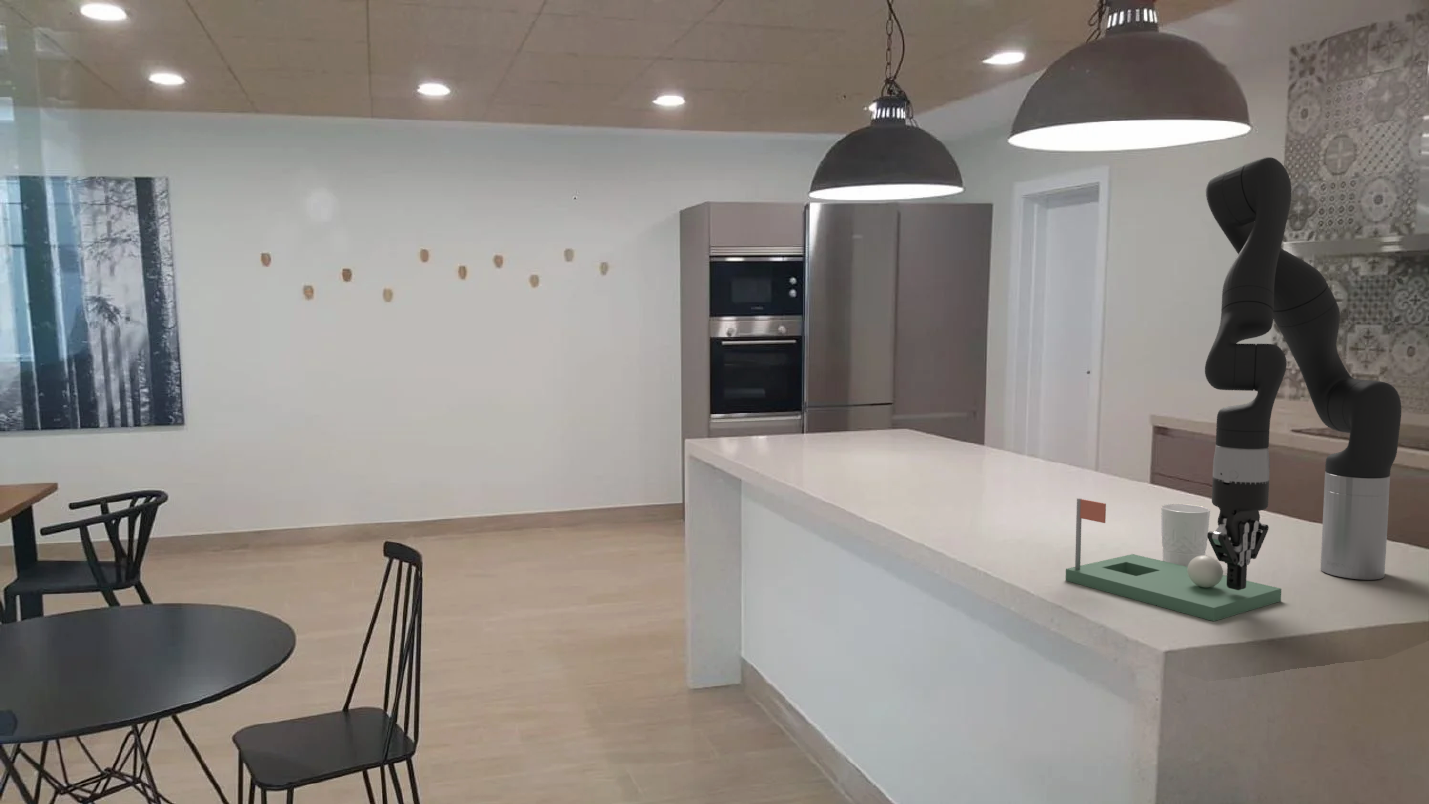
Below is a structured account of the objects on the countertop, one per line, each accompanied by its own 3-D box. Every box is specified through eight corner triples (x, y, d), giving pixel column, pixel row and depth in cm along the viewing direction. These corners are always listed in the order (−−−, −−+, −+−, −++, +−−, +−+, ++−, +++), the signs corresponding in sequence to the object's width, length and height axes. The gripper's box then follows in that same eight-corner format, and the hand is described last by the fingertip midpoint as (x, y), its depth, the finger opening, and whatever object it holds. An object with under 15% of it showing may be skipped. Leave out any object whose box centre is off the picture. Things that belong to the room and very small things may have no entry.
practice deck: (1132, 565, 173) (1134, 487, 172) (1280, 601, 151) (1284, 512, 150) (1065, 580, 164) (1067, 498, 163) (1213, 621, 142) (1217, 527, 140)
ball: (1198, 580, 156) (1200, 550, 155) (1229, 588, 151) (1230, 556, 151) (1180, 585, 153) (1181, 554, 153) (1210, 593, 149) (1211, 561, 148)
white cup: (1166, 555, 180) (1168, 502, 179) (1212, 561, 175) (1214, 507, 174) (1154, 563, 174) (1155, 509, 173) (1201, 571, 169) (1204, 514, 168)
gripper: (1240, 468, 153) (1236, 576, 155) (1191, 476, 146) (1187, 589, 148) (1289, 475, 147) (1284, 587, 148) (1240, 484, 140) (1235, 601, 141)
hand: (1236, 588), depth 148 cm, fingers closed
